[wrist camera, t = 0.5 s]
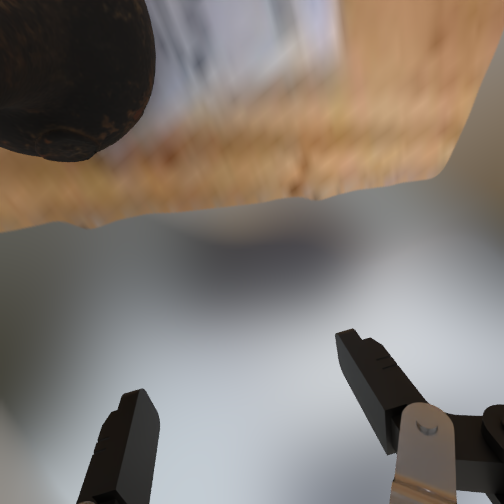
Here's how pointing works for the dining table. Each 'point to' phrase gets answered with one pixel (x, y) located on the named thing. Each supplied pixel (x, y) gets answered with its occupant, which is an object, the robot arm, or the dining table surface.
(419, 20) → the dining table surface
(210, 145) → the dining table surface
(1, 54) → the glass bottle
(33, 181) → the dining table surface
